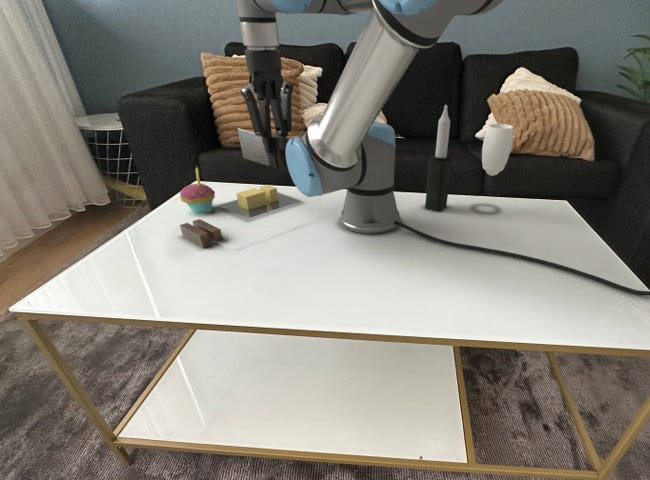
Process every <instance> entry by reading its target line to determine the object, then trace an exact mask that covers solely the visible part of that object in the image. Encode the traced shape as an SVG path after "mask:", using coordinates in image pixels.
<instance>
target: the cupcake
mask: <svg viewBox="0 0 650 480" xmlns="http://www.w3.org/2000/svg"><path fill="white" fill-rule="evenodd" d="M195 175H196V183H193V184H192V183H191V184H188V185H185V186H183V188H182V189H180V193H179V198H180V201H181V202H183V203H186V204H187V206H188V207H189V209H190V210H191V212H192V213H194V214H206V213H209V212H211V211H212V210H213V200H214V199H215V198H216V196H215V194H216V191H215V190H213V188H212V187H210V186H209V185H206V184H203V183H201V179H200V172H199V167H195Z"/></svg>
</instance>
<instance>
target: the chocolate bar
mask: <svg viewBox="0 0 650 480" xmlns="http://www.w3.org/2000/svg"><path fill="white" fill-rule="evenodd" d="M179 228H180V232H181V234H182V237H183V238H184V239H185V240H187V241H189V242H191V243H193V244H195V245H197V246H198V247H200V248H202V249H206V248H208V247H211V246H212V244H211V243H213V244H215V245H217V244H218V242H219V241H222V240H223V234H222V231H221V228H219V227H217V226H215V225H213V224H211V223H210V222H209V223H208V222H207V221H205V220H203V219H201V218H198V219H196V220H192V224H191V223H189V222H185V223H182V224H179Z"/></svg>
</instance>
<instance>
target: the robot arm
mask: <svg viewBox="0 0 650 480" xmlns="http://www.w3.org/2000/svg"><path fill="white" fill-rule="evenodd" d="M503 2H504V0H235V3H236V8H237V13H238V19H239V25H240V31H241V36H242V37H241V38H242V44H243V46H244V47H246V49H245V51H244V59H245V63H246V68H247V71H248V74H249V77H248V84H247V85H245V87H241V88H240V89H239V91H240V94H241V95H242V97H243V99H244V101H245V105H246V108H247V112H248V114H249V119H250V122H251V125H252V129H253V132H254V133H255V135H257V136H260V137H262V138H263V140H264V147H265V151H266V153H268V157H269V164H270V165H269V167H272V168H274V169H279V168H280V166H283V167H287V169H288V173H289V175H290V178H291V179H292V182H293V184H294V185H295V187H296V188H297V189H298V191H299V193H301V194H302V195H304V196H306V197H308V198H312V197H322V196H323V195H327V194H331V193H334V192H338V191H342V190H345V189H346V195H345V199H344V203H343V208H342V210H341V212H340V213H341V214H340V220H341V221H340V223H341V225H342V227H343V228H345V229H347V231H350V232H354V233H357V234H364V235H365V234H367V235H375V234H383V233H384V234H385V233H388V232H391V231H393V230H395V229H397V228H398V227H400V228H403V229H405V230H407V231H409V232H412V233H413V234H416V235H418V236H421V237H423V238H425V239H428V240H431V241H433V242H436V243H439V244H443V245H447V246H451V247H455V248H461V249H466V250H472V251H478V252H484V253H488V254H494V255H499V256H505V257H511V258H515V259H520V260H524V261H527V262H531V263H532V262H533V263H536V264H541V265H544V266H547V267H550V268H554V269H557V270H561V271H564V272H568V273H571V274H574V275H577V276H581V277H583V278H586V279H589V280H592V281H595V282H598V283H601V284H604V285H605V286H609V287H611V288H614V289H617V290H619V291H622V292H626V293H629V294H631V295H636V296H647V297H650V290H639V289H634V288H632V287H631V288H630V287H627V286H625V285H621V284H619V283H616V282H614V281H611V280H607V279H605V278H602V277H599V276H596V275H594V274H591V273H587V272H585V271H581V270H578V269H576V268H572V267H569V266H566V265H562V264H559V263H555V262H552V261H548V260H544V259H541V258H536V257H532V256H528V255H523V254H520V253H514V252H510V251H506V250H505V251H504V250H499V249H494V248H488V247H484V246H477V245H471V244H466V243H465V244H464V243H459V242H453V241H450V240H447V239H442V238H439V237H436V236H433V235H430V234H427V233H425V232H423V231H420V230H418V229H416V228H414V227H412V226H409V225H407V224H405V223H402V222H400V221H401V216H400V211H399V210H398V205H397V201H396V197H395V192H394V190H395V167H396V166H395V165H396V148H397V144H396V133H395V129H394V128H393V126H391V125H390V124H387V123H383V122H379V121H378V122H377V121H376V120H377V117H378V116H379V114H380V113H381V111H382V110H383V109H384V107H385V105H386V103H387V102H388V100H389V98H391V95H392V94H393V92H394V91H395V90H396V87H397V86H398V85H399V83H400V81H401V79H402V78H403V76H404V75H405V73H406V72H407V70H408V69H409V67H410V65H411V64H412V62H413V61H414V59H415V58H416V55H417V54H418V52H419V51H420V50H421V49H429V48H432V47H434V46H435V45H436V44H437V42H438V41H439V39H440V38H441V36H442V35H443V34H444V32H445V30H446V29H447V28H448V26H449V24H450V23H451V21H452V20H453V19H454V17H456V16H480V15H483V14H486V13H489V12H490V11H492V10H494V9H496V8H497V7H498V6H499V5H500V4H502V3H503ZM361 12H370V13H369V16H368V18H367V20H366V22H365V24H364V26H363V27H362V30H361V33H360V34H359V37H358V38H357V42H356V43H355V45H354V47H353V50H352V52H351V54H350V56H349V58H348V60H347V62H346V64H345V67H344V69H343V70H342V73H341V74H340V77H339V79H338V81H337V83H336V86H335V88H334V89H333V92H332V94H331V96H330V98H329V101H328V102H327V105H326V107H325V109H324V111H323V113H322V114H319V115H316V116H314V117H313V118H312V119H311V121H310V122H309V124H308V125H307V128H306V130H305V132H304V134H303V135H302V136H299V137H298V136H294V137H293V138H290V139H288V143H287V145H286V150H281V149H277V148H276V143H275V139H274V138H272V134H273V133H272V121H271V120H272V119H273V124H274V129H275V133H276V135H278V136H282V137H285V138H288V137H289V133H291V132H292V128H293V121H292V120H293V119H292V115H293V114H292V97H293V96H292V95H293V92H294V85H293V83H288V82H286V81H285V80H284V76H283V75H282V70H283V64H282V57H281V51H280V49H278V48H279V46H280V44H281V43H280V37H279V29H278V23H277V22H278V21H277V13H279V14H285V15H290V14H291V15H296V14H313V15H314V14H317V15H319V14H324V15H340V16H350V15H356V14H358V13H361ZM271 113H272V119H271Z"/></svg>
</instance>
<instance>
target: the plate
mask: <svg viewBox="0 0 650 480" xmlns="http://www.w3.org/2000/svg"><path fill="white" fill-rule="evenodd" d="M277 194H278V201H277V202H273V203H270V202H268V201H266V203H267V205H264V206H261V207H257V208H254V209H251V210H247V209H245V208H242V207H240V206H239V204H238V199H235V200H231V201H227V202H224V203H222V204H218V207H220V208H223V209H226V210H228V211H230V212H232V213H234V214H237V215H239V216H241V217H244V218H246V219H251V218H255V217H257V216H260V215H263V214H266V213H269V212H273V211H275V210H279V209H283V208H285V207H288V206H291V205H295V204H298V203H301V202H302V200H300V199H297V198H294V197H292V196H289V195H286V194H283V193H281V192H278V191H277Z"/></svg>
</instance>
